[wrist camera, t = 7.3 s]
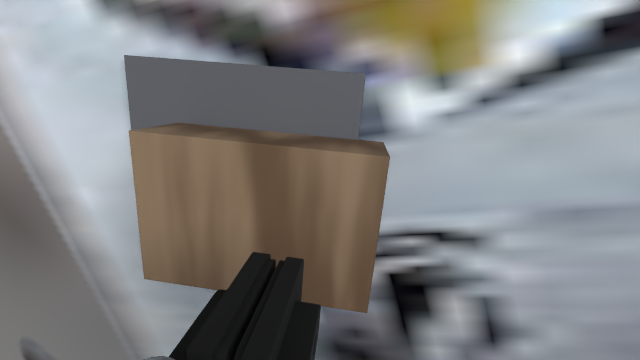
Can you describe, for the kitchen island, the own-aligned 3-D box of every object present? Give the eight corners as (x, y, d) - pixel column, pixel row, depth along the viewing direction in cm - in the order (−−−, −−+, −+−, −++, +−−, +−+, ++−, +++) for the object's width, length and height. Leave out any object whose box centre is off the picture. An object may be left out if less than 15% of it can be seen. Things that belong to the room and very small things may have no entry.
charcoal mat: (365, 74, 17) (365, 73, 16) (339, 302, 21) (338, 307, 20) (130, 56, 18) (124, 55, 18) (150, 273, 22) (146, 277, 22)
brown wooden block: (389, 156, 13) (128, 130, 14) (367, 313, 15) (144, 278, 16) (382, 141, 17) (182, 121, 18) (365, 265, 19) (188, 240, 21)
